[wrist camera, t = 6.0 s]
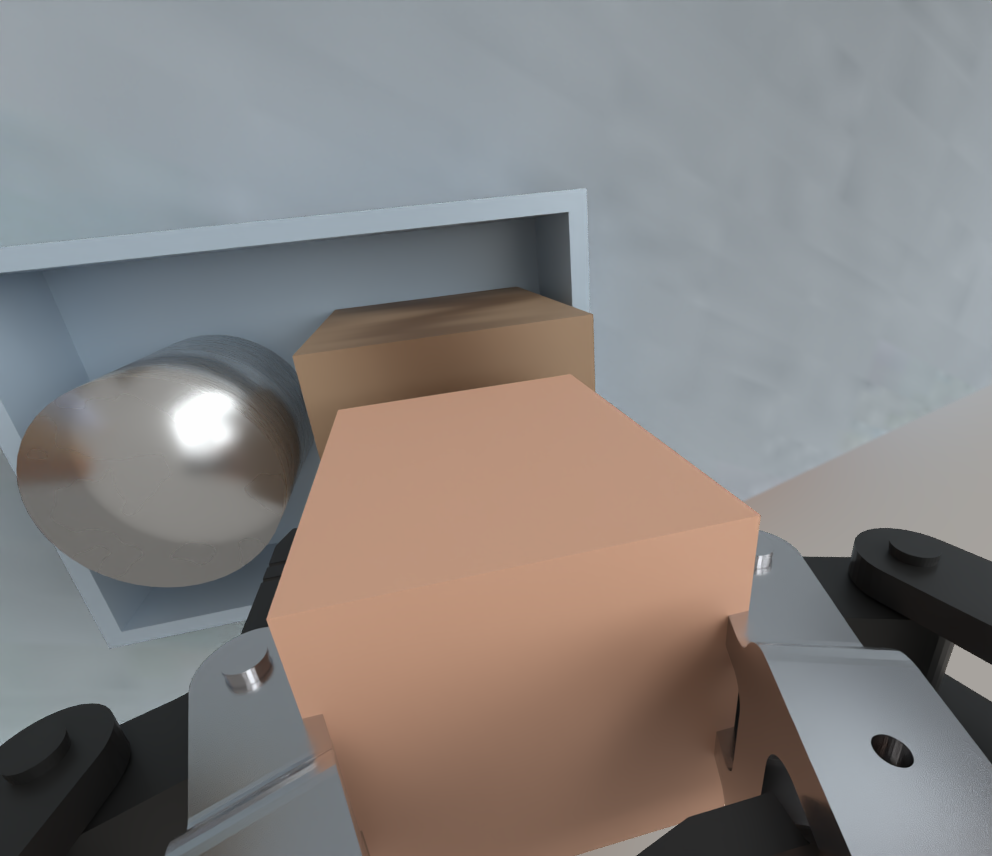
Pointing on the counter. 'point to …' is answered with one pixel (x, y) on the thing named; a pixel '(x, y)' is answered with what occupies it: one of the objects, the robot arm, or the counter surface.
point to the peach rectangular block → (514, 621)
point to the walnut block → (439, 350)
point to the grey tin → (169, 462)
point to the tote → (252, 326)
